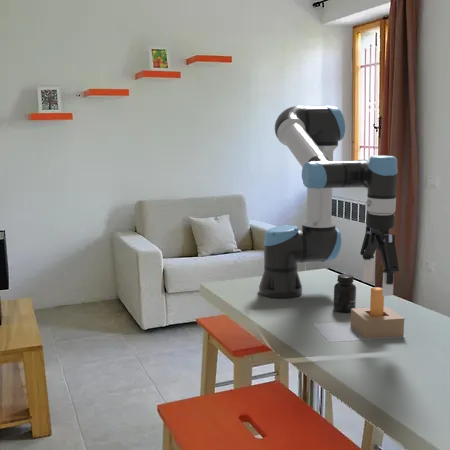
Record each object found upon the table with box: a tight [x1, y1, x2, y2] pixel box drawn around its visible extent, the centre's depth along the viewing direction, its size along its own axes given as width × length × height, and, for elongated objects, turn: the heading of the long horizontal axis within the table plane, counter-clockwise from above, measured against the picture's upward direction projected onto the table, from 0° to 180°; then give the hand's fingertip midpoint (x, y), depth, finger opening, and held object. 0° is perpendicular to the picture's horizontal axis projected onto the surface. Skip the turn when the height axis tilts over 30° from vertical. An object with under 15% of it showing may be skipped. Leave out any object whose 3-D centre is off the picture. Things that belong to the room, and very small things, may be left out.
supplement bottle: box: [332, 273, 357, 314], centre depth 185 cm, size 7×7×12 cm
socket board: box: [312, 306, 407, 343], centre depth 166 cm, size 15×22×6 cm
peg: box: [369, 286, 385, 317], centre depth 165 cm, size 4×4×12 cm
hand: (377, 288), depth 165 cm, fingers open, 13 cm apart
